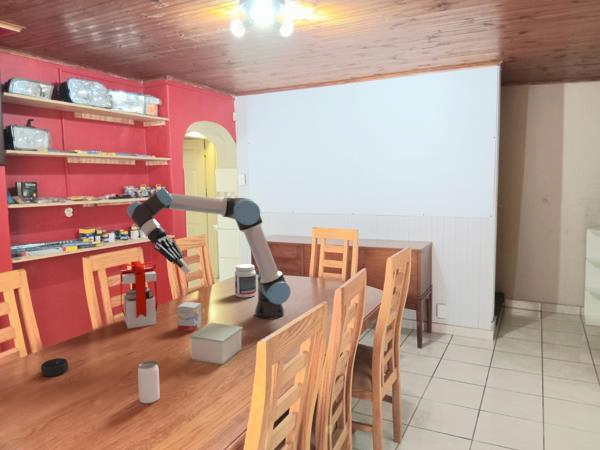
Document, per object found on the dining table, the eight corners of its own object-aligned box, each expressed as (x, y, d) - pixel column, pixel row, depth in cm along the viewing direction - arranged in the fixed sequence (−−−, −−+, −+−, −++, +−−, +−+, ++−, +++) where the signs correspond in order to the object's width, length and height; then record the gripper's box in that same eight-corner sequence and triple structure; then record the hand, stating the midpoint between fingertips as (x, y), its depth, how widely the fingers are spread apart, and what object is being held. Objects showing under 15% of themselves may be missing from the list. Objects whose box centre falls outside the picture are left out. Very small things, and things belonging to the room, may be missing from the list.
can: (142, 394, 151) (140, 360, 149) (161, 394, 151) (160, 359, 150) (136, 404, 144) (135, 369, 143) (157, 403, 145) (155, 368, 144)
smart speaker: (50, 379, 162) (49, 369, 162) (36, 374, 167) (35, 363, 167) (73, 370, 170) (72, 360, 169) (60, 365, 174) (59, 355, 174)
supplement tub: (260, 294, 275) (260, 265, 273) (247, 299, 264) (246, 268, 262) (244, 291, 282) (243, 262, 280) (230, 296, 271) (230, 266, 269)
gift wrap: (124, 330, 213) (120, 268, 209) (120, 320, 228) (117, 262, 224) (160, 324, 220) (158, 264, 217) (154, 315, 236) (152, 259, 232)
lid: (189, 337, 178) (189, 335, 177) (211, 324, 193) (211, 322, 193) (222, 342, 173) (222, 340, 173) (242, 328, 188) (242, 327, 188)
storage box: (191, 359, 179) (191, 338, 178) (212, 345, 194) (211, 325, 193) (222, 364, 174) (222, 342, 173) (241, 349, 189) (241, 328, 188)
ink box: (194, 331, 211) (193, 307, 209) (177, 330, 213) (176, 306, 211) (201, 325, 219) (201, 302, 218) (185, 324, 221) (184, 301, 220)
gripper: (158, 235, 203) (191, 274, 199) (139, 239, 191) (174, 281, 187) (168, 224, 200) (201, 263, 197) (149, 227, 188) (184, 269, 185)
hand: (188, 271), depth 192 cm, fingers closed
